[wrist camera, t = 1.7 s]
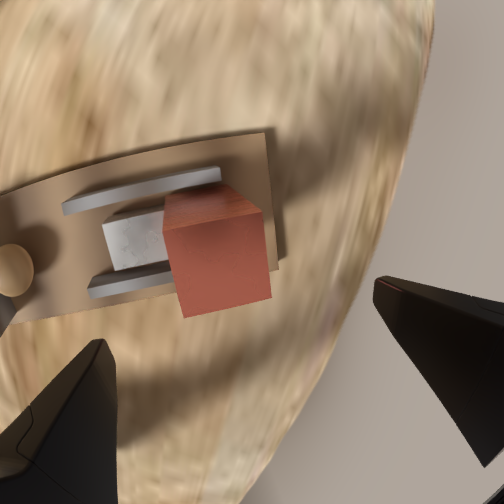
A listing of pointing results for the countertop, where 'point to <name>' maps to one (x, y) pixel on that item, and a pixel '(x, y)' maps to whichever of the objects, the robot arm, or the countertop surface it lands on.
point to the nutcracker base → (96, 212)
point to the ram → (198, 247)
